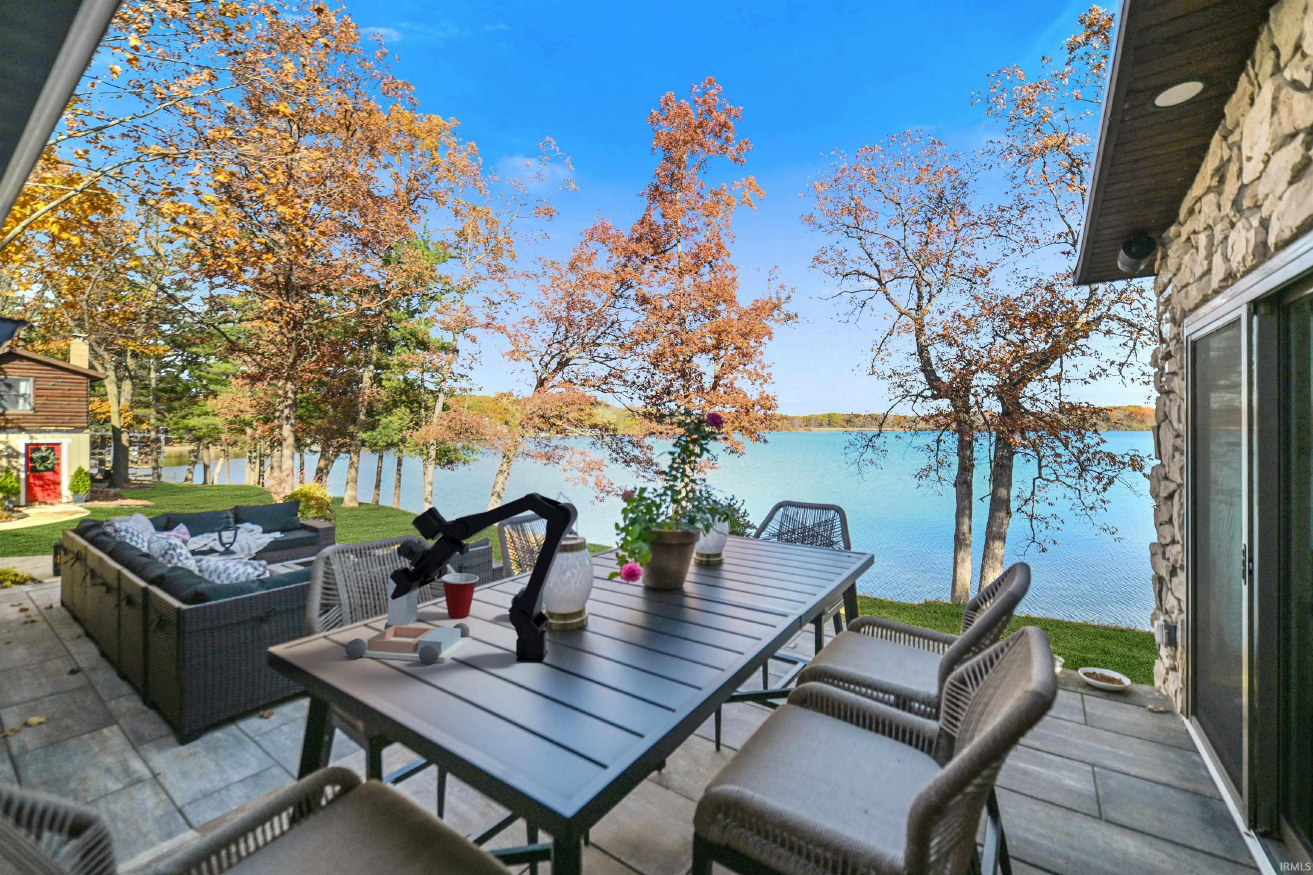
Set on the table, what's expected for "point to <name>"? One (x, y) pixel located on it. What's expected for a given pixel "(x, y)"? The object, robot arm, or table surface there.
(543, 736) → the table surface
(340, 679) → the table surface
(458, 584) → the plastic cup
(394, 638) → the chassis
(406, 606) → the blue-grey rectangular box
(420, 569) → the robot arm
